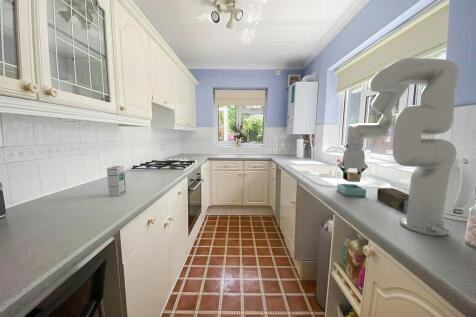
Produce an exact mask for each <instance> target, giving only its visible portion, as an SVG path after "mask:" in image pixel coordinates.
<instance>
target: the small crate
mask: <svg viewBox="0 0 476 317" xmlns="http://www.w3.org/2000/svg"><path fill="white" fill-rule="evenodd" d="M360 176H361V177H362V174H361V175H360V174H358V173H357V172H355V171H347V180H345V179H344V178H343V177H342V178H343V180H345V181H346V182H349V183H350V182H351V183H353V182H354V183H361V178H360Z"/></svg>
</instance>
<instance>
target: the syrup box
mask: <svg viewBox="0 0 476 317" xmlns="http://www.w3.org/2000/svg"><path fill="white" fill-rule="evenodd" d="M106 176H107V177H106V178H107V188H108V189H107V190H108V196H109V197H121V196H122V195H124V194H126V193H127V189H126V178H125V176H126V173H125V166H123V165H113V166H111V167H106Z"/></svg>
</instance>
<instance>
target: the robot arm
mask: <svg viewBox="0 0 476 317" xmlns="http://www.w3.org/2000/svg"><path fill="white" fill-rule="evenodd" d="M459 69H460V68H459V67H458V65H457V64H456V63H455V62H454V61H453V60H449V59H443V58H440V59H439V58H425V57H424V58H422V57H421V58H417V57H416V58H415V57H405V58H401V59H400V58H399V59H398V60H396V61H394V62H392V63H391V64H388V65H387V66H385V67H384V68H382V69H380V70H378V71H377V72H376V73H375V74H374V75H373V76H372V78H371V79H370V82H369V90H370V91H371V92H372V93H374V94H376V96H375V97H374V99H373V100H372V102H371V108H372V109H373V110H374V111H376V112H377V113H379V114H381V117H380V118H379V119H378V121H377V123H373V122H372V123H371V122H369V123H368V122H367V123H363V122H362V123H361V122H360V123H353V124H349V125H348V128H347V139H346V144H343V148H345V150H344V153H343V156H342V160H341V162H340V163H339V164H337V167H338V168H339V169H340V170H341V171H342V178H344V179H343V180H344V181H346V180H347V172H348V170H349V169H356V170H357V172H356V173H358V174H360V175H361V176H360V179H361V178H362V173H363V172H364V171H365V170H367V169H369V166H368V165H367V164H366V163H365V161H366V160H365V150H364V149H363V146H364V139H380V138H382V137H383V136H384V135H385V134H386V133H387V132H388V130H389V129H390V128H391V126H392V123H393V118H394V117H393V111H392V110H393V109H394V108H395V106H396V105H397V103H398V102H399V101H400V99H401V98H402V97H403V95H404V93H405V92H406V91H407V89H408V88H409V87H410V85H424V87H423V89H422V91H421V92H420V95H419V104H418V105H417V104H415V105H413V104H412V105H409V106H406V107H403V108H402V109H401V110H399V112H398V113H397V116H396V117H395V120H394V124H393V125H394V127H393V142H392V144H393V145H392V156H393V160H395V161H394V162H396V163H397V164H398V165H400V166H403V167H415V169H414V170H413V171H412V174H411V177H410V183H409V192H408V195H409V199H408V207H407V213H406V217H402V218H401V219H400V222H399V223H400V224H401V225H402V226H403V227H405V228H406V229H409V230H410V231H413V232H416V233H420V234H423V235H430V236H436V237H441V236H442V237H443V236H446V235H448V233H449V232H450V229H449V228H447V227H445V221H444V213H445V208H446V207H445V205H446V199H447V192H448V186H449V180H450V174H451V170H452V169H453V167H454V163H455V160H456V158H457V154H458V153H457V149H456V147H455V145H454V144H453V142H450V141H449V140H446V139H442V138H434V137H433V138H430V137H428V138H426V137H425V138H424V137H423V138H422V135H441V134H445V133H446V132H448V131H449V130H451V127H452V126H453V120H454V112H455V110H454V109H455V102H456V101H455V100H456V94H455V93H456V88H457V85H458V80H459V75H460V74H459V72H460V71H459Z"/></svg>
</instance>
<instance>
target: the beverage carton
mask: <svg viewBox="0 0 476 317" xmlns="http://www.w3.org/2000/svg"><path fill="white" fill-rule="evenodd" d="M376 199H377V200H379V201H380V202H382V203H384V204H387V205H388V206H390V207H392V208H394V209H396V210H398V211H400V212H402V213H405V214H407V207H408V199H409V193H406V192H404V191H401V190H399V189H396V188H392V187H389V188H388V187H378V188H377V195H376Z"/></svg>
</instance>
